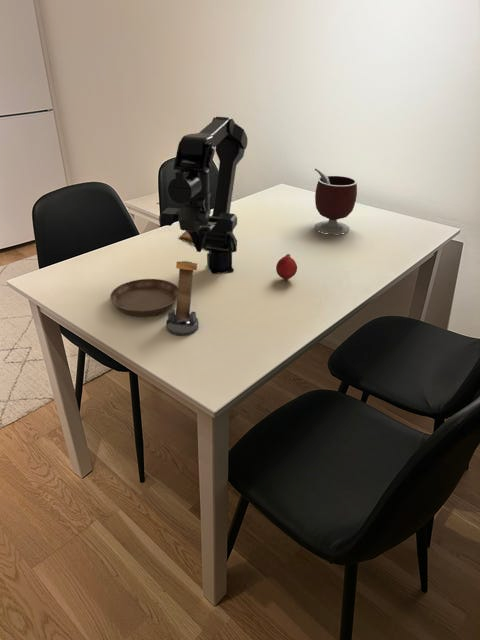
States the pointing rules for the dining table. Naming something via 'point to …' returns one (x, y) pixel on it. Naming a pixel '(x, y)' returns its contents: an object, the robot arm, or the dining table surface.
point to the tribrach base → (181, 324)
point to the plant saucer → (145, 297)
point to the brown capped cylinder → (184, 288)
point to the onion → (286, 267)
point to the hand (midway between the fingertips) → (199, 251)
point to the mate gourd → (334, 201)
